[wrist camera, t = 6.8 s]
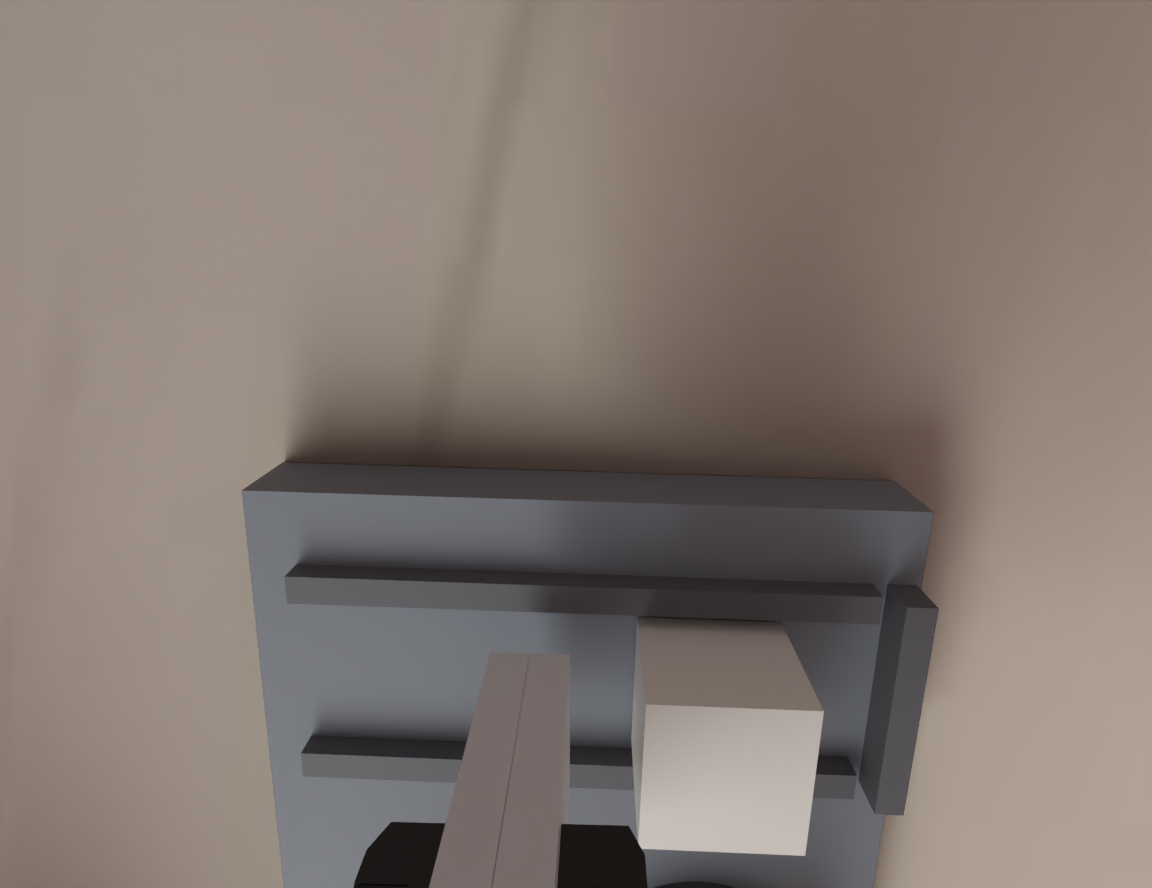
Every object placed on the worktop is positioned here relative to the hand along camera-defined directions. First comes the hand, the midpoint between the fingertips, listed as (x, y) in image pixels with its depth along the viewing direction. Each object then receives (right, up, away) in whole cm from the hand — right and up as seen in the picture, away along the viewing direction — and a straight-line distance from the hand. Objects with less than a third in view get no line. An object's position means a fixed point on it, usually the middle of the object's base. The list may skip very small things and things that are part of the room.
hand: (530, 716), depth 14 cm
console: (+1, -7, +6) cm, 9 cm away
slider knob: (+4, 0, +2) cm, 4 cm away
